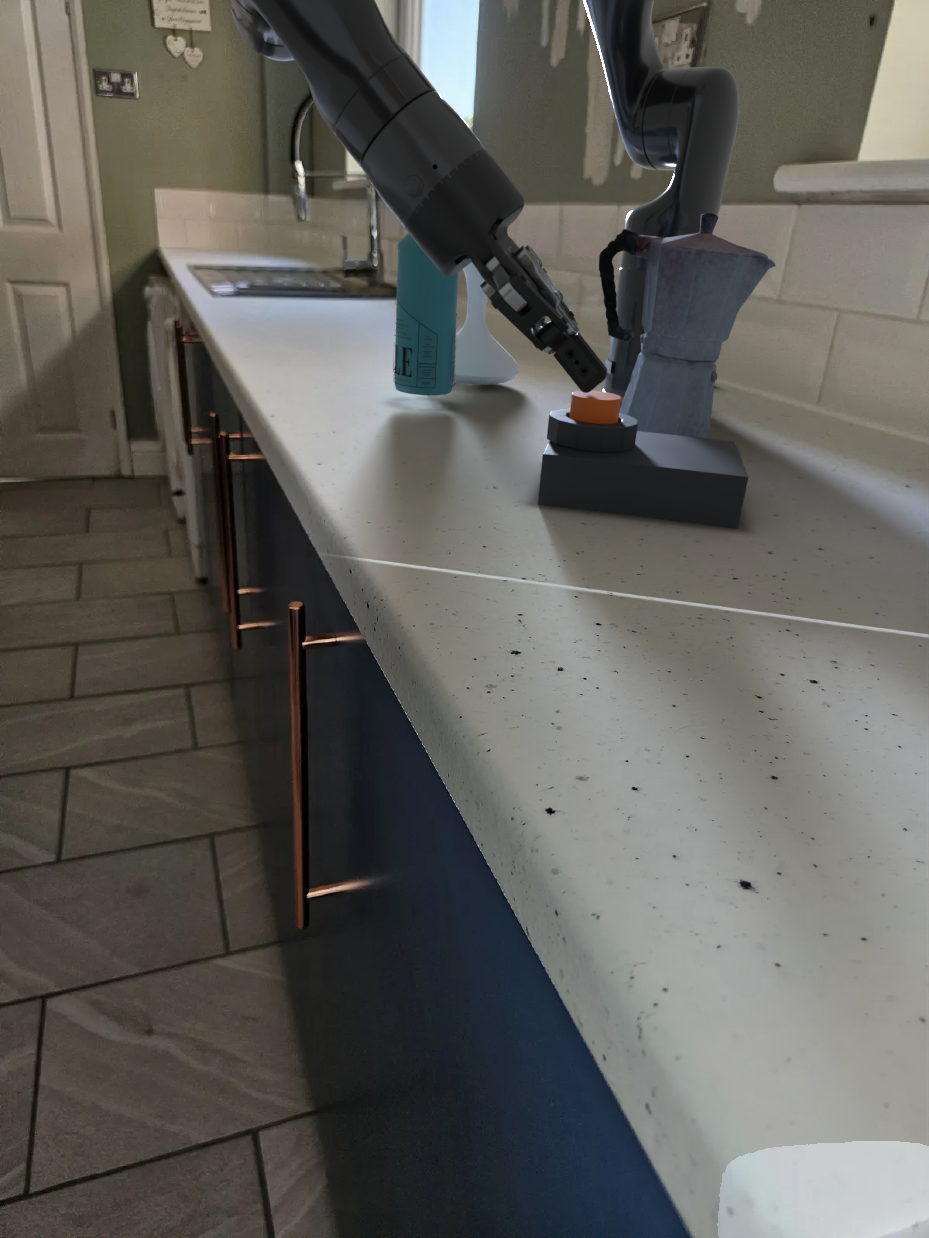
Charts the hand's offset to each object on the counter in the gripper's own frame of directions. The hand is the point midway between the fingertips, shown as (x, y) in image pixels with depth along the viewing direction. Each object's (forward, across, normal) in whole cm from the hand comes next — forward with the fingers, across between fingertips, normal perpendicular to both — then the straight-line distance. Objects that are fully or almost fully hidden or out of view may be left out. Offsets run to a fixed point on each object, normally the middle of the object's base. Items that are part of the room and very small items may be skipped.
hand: (597, 383), depth 63 cm
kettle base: (+8, 0, +3) cm, 9 cm away
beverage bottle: (-8, +25, +19) cm, 33 cm away
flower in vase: (-7, +41, +18) cm, 46 cm away
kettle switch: (+2, 0, +2) cm, 3 cm away
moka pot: (+10, +20, +2) cm, 23 cm away
